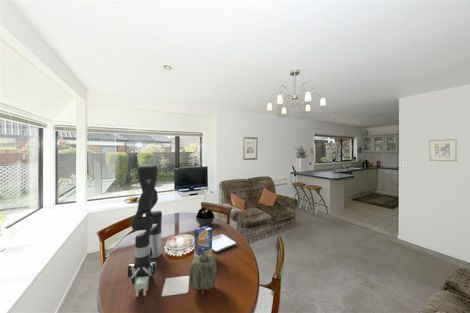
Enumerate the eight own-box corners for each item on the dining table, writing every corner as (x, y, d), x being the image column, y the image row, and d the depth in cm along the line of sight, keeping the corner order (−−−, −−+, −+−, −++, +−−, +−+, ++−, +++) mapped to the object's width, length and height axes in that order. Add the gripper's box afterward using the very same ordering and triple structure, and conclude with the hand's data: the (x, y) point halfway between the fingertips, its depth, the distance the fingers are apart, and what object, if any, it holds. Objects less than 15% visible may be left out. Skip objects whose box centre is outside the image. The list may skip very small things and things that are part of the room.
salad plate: (215, 255, 138) (215, 250, 138) (201, 244, 155) (201, 240, 154) (236, 246, 152) (236, 242, 152) (222, 237, 168) (222, 233, 168)
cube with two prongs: (138, 289, 101) (138, 277, 101) (148, 288, 102) (148, 276, 102) (135, 297, 96) (135, 284, 96) (145, 295, 97) (146, 282, 97)
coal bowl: (194, 223, 201) (195, 206, 200) (212, 221, 207) (212, 205, 206) (196, 230, 182) (196, 211, 181) (216, 228, 188) (216, 210, 187)
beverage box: (211, 258, 133) (212, 228, 133) (198, 263, 126) (198, 232, 126) (207, 253, 139) (207, 225, 138) (194, 259, 132) (194, 229, 132)
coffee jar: (151, 273, 116) (152, 244, 115) (153, 280, 109) (153, 250, 109) (134, 278, 110) (134, 248, 110) (135, 286, 104) (135, 254, 104)
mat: (165, 279, 110) (165, 278, 110) (189, 276, 113) (189, 275, 113) (161, 296, 97) (161, 296, 97) (188, 293, 99) (188, 292, 99)
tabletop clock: (216, 285, 106) (216, 242, 106) (215, 297, 97) (215, 251, 97) (191, 285, 105) (192, 242, 105) (188, 297, 96) (188, 251, 96)
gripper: (157, 248, 104) (157, 276, 104) (130, 250, 101) (130, 279, 101) (154, 255, 97) (154, 285, 97) (125, 258, 94) (125, 289, 94)
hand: (142, 282), depth 99 cm, fingers open, 8 cm apart
